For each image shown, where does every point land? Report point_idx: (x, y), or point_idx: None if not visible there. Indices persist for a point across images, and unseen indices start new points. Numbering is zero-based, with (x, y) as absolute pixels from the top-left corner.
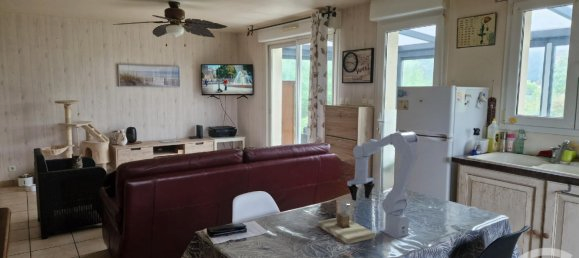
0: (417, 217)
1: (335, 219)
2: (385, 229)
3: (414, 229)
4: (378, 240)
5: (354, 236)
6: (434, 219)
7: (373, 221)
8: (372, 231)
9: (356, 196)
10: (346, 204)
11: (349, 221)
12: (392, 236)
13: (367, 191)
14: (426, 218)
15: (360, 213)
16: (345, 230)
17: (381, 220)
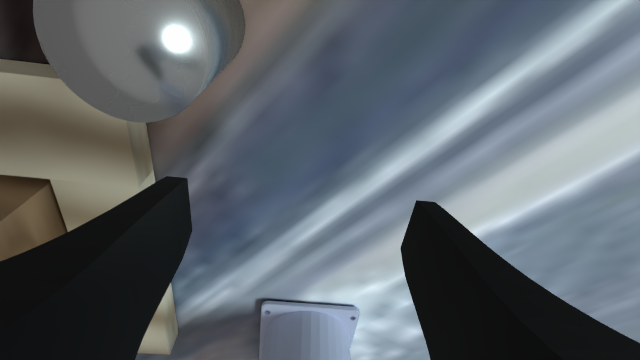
0: (617, 282)
1: (7, 102)
2: (267, 335)
3: (421, 348)
4: (177, 345)
5: None
6: (633, 330)
7: (349, 198)
8: (167, 341)
9: (164, 290)
10: (122, 93)
11: (115, 194)
12: (259, 355)
13: (440, 322)
14: (627, 308)
15: (424, 7)
16: None
17: (409, 212)
